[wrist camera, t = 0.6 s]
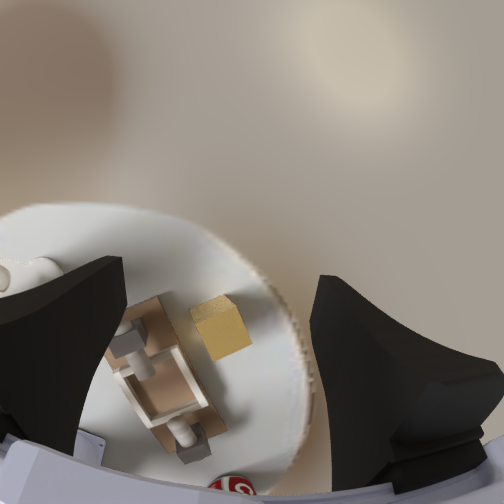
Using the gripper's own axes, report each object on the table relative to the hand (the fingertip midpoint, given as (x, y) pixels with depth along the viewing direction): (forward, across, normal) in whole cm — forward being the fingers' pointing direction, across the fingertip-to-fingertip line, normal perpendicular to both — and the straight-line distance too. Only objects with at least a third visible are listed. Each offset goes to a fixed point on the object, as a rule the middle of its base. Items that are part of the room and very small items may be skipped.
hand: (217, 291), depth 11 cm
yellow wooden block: (+17, +2, +14) cm, 23 cm away
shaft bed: (+13, +7, +21) cm, 26 cm away
